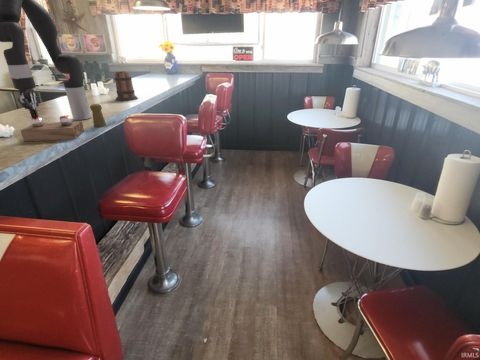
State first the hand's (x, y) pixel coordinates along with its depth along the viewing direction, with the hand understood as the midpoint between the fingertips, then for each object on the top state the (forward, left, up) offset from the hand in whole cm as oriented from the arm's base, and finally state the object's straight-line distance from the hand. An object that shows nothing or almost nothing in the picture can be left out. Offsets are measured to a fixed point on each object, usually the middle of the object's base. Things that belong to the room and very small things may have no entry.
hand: (35, 117), depth 125 cm
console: (0, +6, -9) cm, 11 cm away
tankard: (-101, +19, -9) cm, 103 cm away
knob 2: (0, +12, -6) cm, 14 cm away
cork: (-16, +21, -9) cm, 28 cm away
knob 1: (0, 0, -6) cm, 7 cm away
